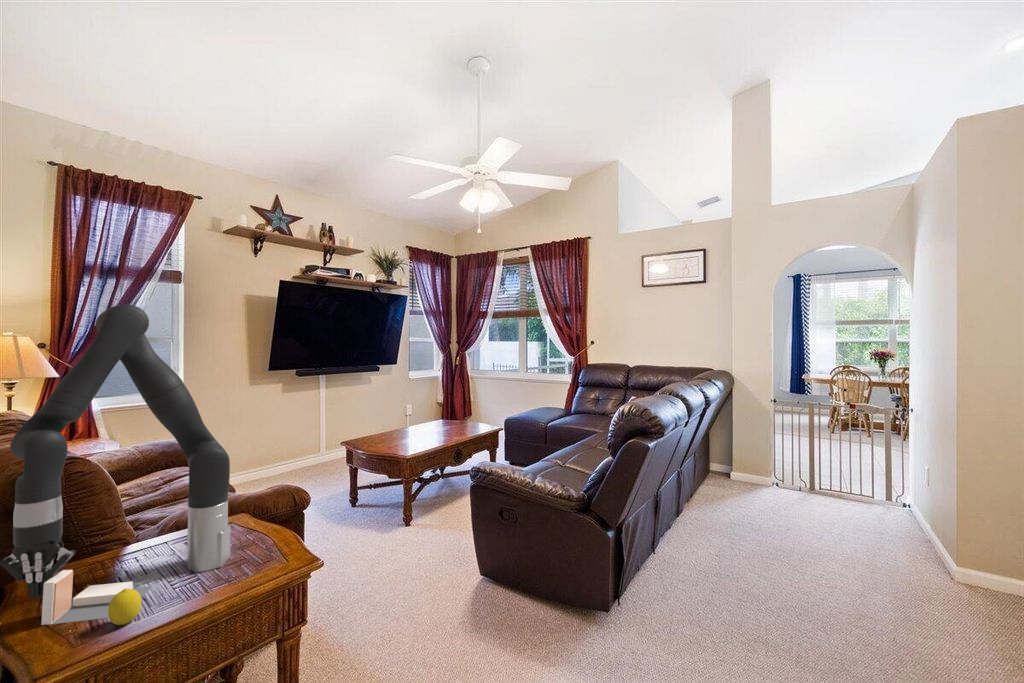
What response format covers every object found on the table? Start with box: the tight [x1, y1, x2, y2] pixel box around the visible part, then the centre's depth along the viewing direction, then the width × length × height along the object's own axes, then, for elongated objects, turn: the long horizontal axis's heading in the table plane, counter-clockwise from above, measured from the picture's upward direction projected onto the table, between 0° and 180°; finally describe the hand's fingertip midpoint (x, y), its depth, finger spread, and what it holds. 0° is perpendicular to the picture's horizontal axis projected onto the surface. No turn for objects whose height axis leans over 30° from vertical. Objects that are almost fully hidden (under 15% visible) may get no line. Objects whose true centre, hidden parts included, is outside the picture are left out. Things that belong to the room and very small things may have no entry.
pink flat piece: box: [40, 569, 74, 626], centre depth 99 cm, size 2×6×9 cm, turn 13°
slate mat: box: [45, 585, 154, 626], centre depth 104 cm, size 15×13×1 cm
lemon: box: [108, 588, 142, 626], centre depth 97 cm, size 6×6×8 cm
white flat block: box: [72, 581, 134, 607], centre depth 106 cm, size 2×6×9 cm
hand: (38, 596), depth 99 cm, fingers closed
